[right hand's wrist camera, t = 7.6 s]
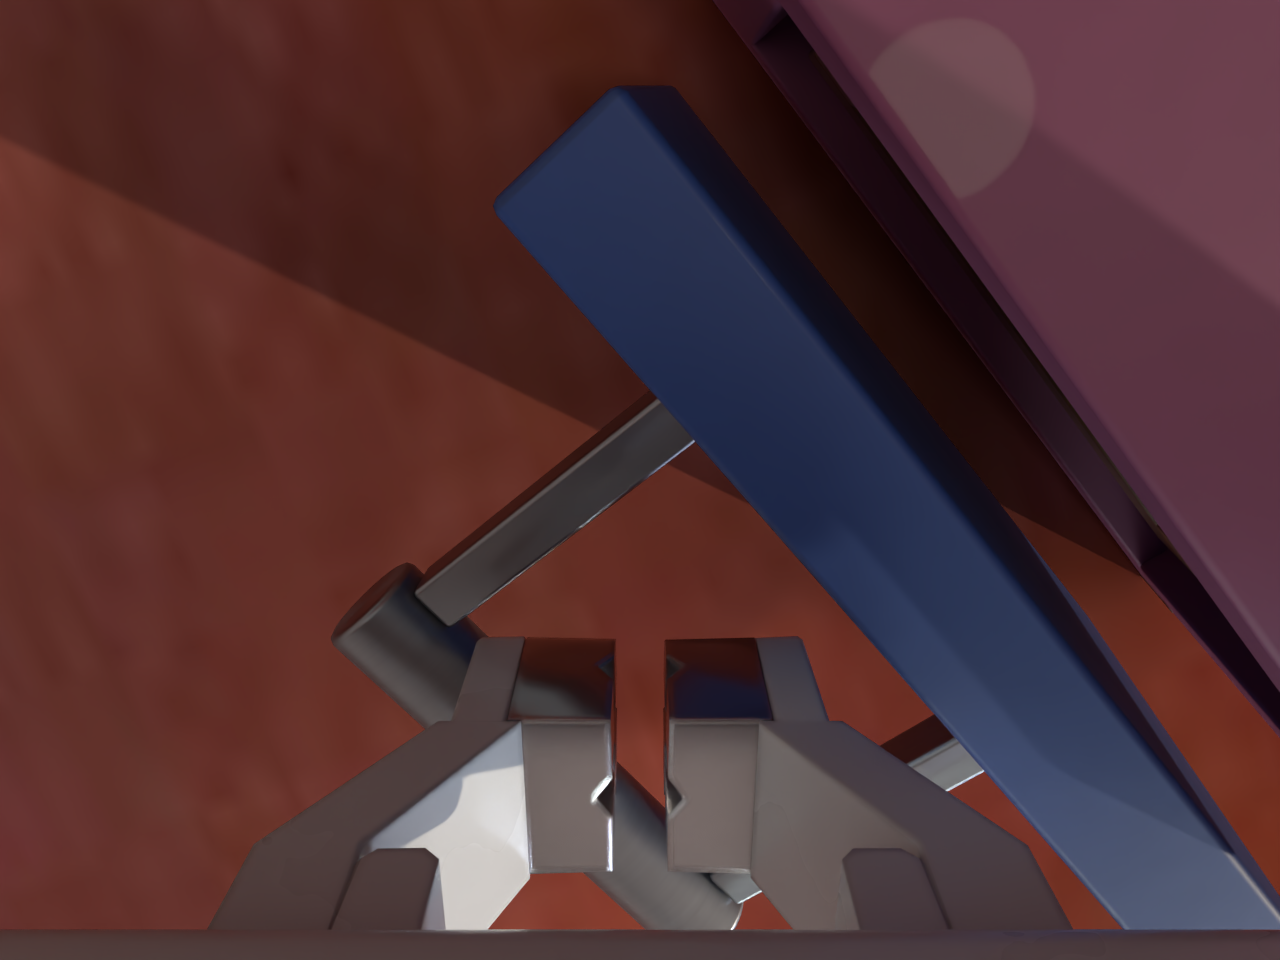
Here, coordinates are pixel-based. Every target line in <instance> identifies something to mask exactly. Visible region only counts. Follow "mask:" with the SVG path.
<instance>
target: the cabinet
mask: <svg viewBox="0 0 1280 960" xmlns="http://www.w3.org/2000/svg"><path fill="white" fill-rule="evenodd" d="M713 2H714V3H715V4H716V6H717V7H718V8H719V10H720V11H721V12H722V14H723V15H724V16H725V18H726V19H727V20H728V22H729V23H730V24H731V26H732V27H733V28H734V30H735V31H736V33H737V34H738V35H739V37H740V38H741V39H742V41H743V42H744V43H745V45H746V46H747V47H748V49H749V50H750V51H751V53H752V54H753V55H754V57H755V58H756V59H757V61H758V62H759V63H760V65H761V66H762V67H763V69H764V70H765V71H766V73H767V74H768V75H769V77H770V78H771V79H772V81H773V82H774V83H775V85H776V86H777V87H778V89H779V90H780V91H781V93H782V94H783V96H784V97H785V98H786V100H787V101H788V102H789V104H790V105H791V106H792V108H793V109H794V110H795V112H796V113H797V114H798V116H799V117H800V118H801V120H802V121H803V122H804V124H805V125H806V126H807V128H808V129H809V130H810V132H811V133H812V134H813V136H814V137H815V138H816V140H817V141H818V142H819V144H820V145H821V146H822V148H823V149H824V150H825V152H826V153H827V154H828V156H829V157H830V158H831V160H832V161H833V163H834V164H835V165H836V167H837V168H838V169H839V171H840V172H841V173H842V175H843V176H844V177H845V179H846V180H847V181H848V183H849V184H850V185H851V187H852V188H853V189H854V191H855V192H856V193H857V195H858V196H859V197H860V199H861V200H862V201H863V203H864V204H865V205H866V207H867V208H868V209H869V211H870V212H871V213H872V215H873V216H874V217H875V219H876V220H877V221H878V223H879V224H880V226H881V227H882V228H883V230H884V231H885V232H886V234H887V235H888V236H889V238H890V239H891V240H892V242H893V243H894V244H895V246H896V247H897V248H898V250H899V251H900V252H901V254H902V255H903V256H904V258H905V259H906V260H907V262H908V263H909V264H910V266H911V267H912V268H913V270H914V271H915V272H916V274H917V275H918V276H919V278H920V279H921V280H922V282H923V283H924V284H925V286H926V287H927V289H928V290H929V291H930V293H931V294H932V295H933V297H934V298H935V299H936V301H937V302H938V303H939V305H940V306H941V307H942V309H943V310H944V311H945V313H946V314H947V315H948V317H949V318H950V319H951V321H952V322H953V323H954V325H955V326H956V327H957V329H958V330H959V331H960V333H961V334H962V335H963V337H964V338H965V339H966V341H967V342H968V343H969V345H970V346H971V347H972V349H973V350H974V351H975V353H976V354H977V356H978V357H979V358H980V360H981V361H982V362H983V364H984V365H985V366H986V368H987V369H988V370H989V372H990V373H991V374H992V376H993V377H994V378H995V380H996V381H997V382H998V384H999V385H1000V386H1001V388H1002V389H1003V390H1004V392H1005V393H1006V394H1007V396H1008V397H1009V398H1010V400H1011V401H1012V402H1013V404H1014V405H1015V406H1016V408H1017V409H1018V410H1019V412H1020V413H1021V414H1022V416H1023V417H1024V419H1025V420H1026V421H1027V423H1028V424H1029V425H1030V427H1031V428H1032V429H1033V431H1034V432H1035V433H1036V435H1037V436H1038V437H1039V439H1040V440H1041V441H1042V443H1043V444H1044V445H1045V447H1046V448H1047V449H1048V451H1049V452H1050V453H1051V455H1052V456H1053V457H1054V459H1055V460H1056V461H1057V463H1058V464H1059V465H1060V467H1061V468H1062V469H1063V471H1064V472H1065V473H1066V475H1067V476H1068V477H1069V479H1070V480H1071V482H1072V483H1073V484H1074V486H1075V487H1076V488H1077V490H1078V491H1079V492H1080V494H1081V495H1082V496H1083V498H1084V499H1085V500H1086V502H1087V503H1088V504H1089V506H1090V507H1091V508H1092V510H1093V511H1094V512H1095V514H1096V515H1097V516H1098V518H1099V519H1100V520H1101V522H1102V523H1103V524H1104V526H1105V527H1106V528H1107V530H1108V531H1109V532H1110V534H1111V535H1112V536H1113V538H1114V539H1115V540H1116V542H1117V543H1118V545H1119V546H1120V547H1121V549H1122V550H1123V551H1124V553H1125V554H1126V555H1127V557H1128V558H1129V559H1130V561H1131V562H1132V563H1133V565H1134V566H1135V567H1136V569H1137V570H1138V571H1139V573H1140V575H1141V577H1142V578H1143V579H1144V580H1145V581H1146V583H1147V584H1148V585H1149V586H1150V587H1151V589H1152V590H1153V591H1154V592H1155V593H1156V594H1157V596H1158V597H1159V598H1160V599H1161V600H1162V601H1163V603H1164V604H1165V605H1166V606H1167V607H1168V609H1169V610H1170V611H1171V612H1172V613H1174V614H1175V615H1176V617H1177V618H1178V619H1179V620H1180V621H1181V622H1182V624H1183V625H1184V626H1185V627H1186V628H1187V629H1188V631H1189V632H1190V633H1191V634H1192V635H1193V636H1194V638H1195V639H1196V640H1197V641H1198V642H1199V643H1200V645H1201V646H1202V647H1203V648H1204V649H1205V651H1206V652H1207V653H1208V654H1209V655H1210V656H1211V658H1212V659H1213V660H1214V661H1215V662H1216V663H1217V665H1218V666H1219V667H1220V668H1221V669H1222V670H1223V672H1224V673H1225V674H1226V675H1227V676H1228V678H1229V679H1230V680H1231V681H1232V682H1233V683H1234V685H1235V686H1236V687H1237V688H1238V689H1239V690H1240V692H1241V693H1242V694H1243V695H1244V696H1245V697H1246V699H1247V700H1248V701H1249V702H1250V703H1251V704H1252V706H1253V707H1254V708H1255V709H1256V710H1257V712H1258V713H1259V714H1260V715H1261V716H1262V717H1263V719H1264V720H1265V721H1266V722H1267V723H1268V724H1269V726H1270V727H1271V728H1272V729H1273V730H1274V731H1275V733H1276V734H1277V735H1278V736H1279V737H1280V0H713ZM812 49H814V50H815V52H816V53H817V55H818V56H819V57H820V59H821V60H822V61H823V63H824V64H825V66H826V67H827V68H828V70H829V71H830V72H831V74H832V75H833V77H834V78H835V79H836V81H837V82H838V84H839V85H840V86H841V88H842V89H843V90H844V92H845V93H846V95H847V96H848V97H849V99H850V100H851V101H852V103H853V104H854V106H855V107H856V108H857V110H858V111H859V113H860V114H861V115H862V117H863V118H864V119H865V121H866V122H867V124H868V125H869V126H870V128H871V129H872V130H873V132H874V133H875V135H876V136H877V137H878V139H879V140H880V141H881V143H882V144H883V146H884V147H885V148H886V150H887V151H888V153H889V154H890V155H891V157H892V158H893V159H894V161H895V162H896V164H897V165H898V166H899V168H900V169H901V170H902V172H903V173H904V175H905V176H906V177H907V179H908V180H909V181H910V183H911V184H912V186H913V187H914V188H915V190H916V191H917V193H918V194H919V195H920V197H921V198H922V199H923V201H924V202H925V204H926V205H927V206H928V208H929V209H930V210H931V212H932V213H933V215H934V216H935V217H936V219H937V220H938V222H939V223H940V224H941V226H942V227H943V228H944V230H945V231H946V233H947V234H948V235H949V237H950V238H951V239H952V241H953V242H954V244H955V245H956V246H957V248H958V249H959V250H960V252H961V253H962V255H963V256H964V257H965V259H966V260H967V262H968V263H969V264H970V266H971V267H972V268H973V270H974V271H975V273H976V274H977V275H978V277H979V278H980V279H981V281H982V282H983V284H984V285H985V286H986V288H987V289H988V290H989V292H990V293H991V295H992V296H993V297H994V299H995V300H996V302H997V303H998V304H999V306H1000V307H1001V308H1002V310H1003V311H1004V313H1005V314H1006V315H1007V317H1008V318H1009V319H1010V321H1011V322H1012V324H1013V325H1014V326H1015V328H1016V329H1017V331H1018V332H1019V333H1020V335H1021V336H1022V337H1023V339H1024V340H1025V342H1026V343H1027V344H1028V346H1029V347H1030V348H1031V350H1032V351H1033V353H1034V354H1035V355H1036V357H1037V358H1038V359H1039V361H1040V362H1041V364H1042V365H1043V366H1044V368H1045V369H1046V371H1047V372H1048V373H1049V375H1050V376H1051V377H1052V379H1053V380H1054V382H1055V383H1056V384H1057V386H1058V387H1059V388H1060V390H1061V391H1062V393H1063V394H1064V395H1065V397H1066V398H1067V399H1068V401H1069V402H1070V404H1071V405H1072V406H1073V408H1074V409H1075V411H1076V412H1077V413H1078V415H1079V416H1080V417H1081V419H1082V420H1083V422H1084V423H1085V424H1086V426H1087V427H1088V428H1089V430H1090V431H1091V433H1092V434H1093V435H1094V437H1095V438H1096V439H1097V441H1098V442H1099V444H1100V445H1101V446H1102V448H1103V449H1104V451H1105V452H1106V453H1107V455H1108V456H1109V457H1110V459H1111V460H1112V462H1113V463H1114V464H1115V466H1116V467H1117V468H1118V470H1119V471H1120V473H1121V474H1122V475H1123V477H1124V478H1125V480H1126V481H1127V482H1128V484H1129V485H1130V486H1131V488H1132V489H1133V491H1134V492H1135V493H1136V495H1137V496H1138V497H1139V499H1140V500H1141V502H1142V503H1143V504H1144V506H1145V507H1146V508H1147V510H1148V511H1149V513H1150V514H1151V515H1152V517H1153V518H1154V520H1155V521H1156V522H1157V524H1158V525H1159V526H1160V528H1161V529H1162V531H1163V532H1164V533H1165V535H1166V536H1167V537H1168V539H1169V540H1170V542H1171V543H1172V544H1173V546H1174V547H1175V548H1176V550H1177V551H1178V553H1179V554H1180V555H1181V557H1182V558H1183V560H1184V561H1185V562H1186V564H1187V565H1188V566H1189V568H1190V569H1191V571H1192V572H1193V573H1194V575H1195V576H1196V577H1197V578H1196V577H1195V576H1194V575H1193V573H1192V572H1191V571H1190V570H1189V569H1188V568H1187V567H1186V566H1185V565H1184V564H1183V563H1182V561H1180V560H1179V559H1178V558H1177V557H1176V556H1175V555H1174V554H1173V553H1172V552H1171V551H1170V549H1169V548H1168V547H1167V546H1166V545H1165V544H1164V543H1163V542H1162V541H1161V540H1160V539H1159V538H1158V537H1157V535H1156V534H1155V533H1154V531H1153V530H1152V529H1151V527H1150V526H1149V525H1148V523H1147V522H1146V520H1145V519H1144V518H1143V516H1142V515H1141V514H1140V512H1139V511H1138V509H1137V508H1136V507H1135V505H1134V504H1133V503H1132V501H1131V500H1130V498H1129V497H1128V496H1127V494H1126V493H1125V492H1124V490H1123V489H1122V487H1121V486H1120V485H1119V483H1118V482H1117V481H1116V479H1115V478H1114V476H1113V475H1112V474H1111V472H1110V471H1109V470H1108V468H1107V467H1106V465H1105V464H1104V463H1103V461H1102V460H1101V459H1100V457H1099V456H1098V455H1097V453H1096V452H1095V450H1094V449H1093V448H1092V446H1091V445H1090V444H1089V442H1088V441H1087V439H1086V438H1085V437H1084V435H1083V434H1082V433H1081V431H1080V430H1079V428H1078V427H1077V426H1076V424H1075V423H1074V422H1073V420H1072V419H1071V417H1070V416H1069V415H1068V413H1067V412H1066V411H1065V409H1064V408H1063V406H1062V405H1061V404H1060V402H1059V401H1058V400H1057V398H1056V397H1055V395H1054V394H1053V393H1052V391H1051V390H1050V389H1049V387H1048V386H1047V385H1046V383H1045V382H1044V380H1043V379H1042V378H1041V376H1040V375H1039V374H1038V372H1037V371H1036V369H1035V368H1034V367H1033V365H1032V364H1031V363H1030V361H1029V360H1028V358H1027V357H1026V356H1025V354H1024V353H1023V352H1022V350H1021V349H1020V347H1019V346H1018V345H1017V343H1016V342H1015V341H1014V339H1013V338H1012V336H1011V335H1010V334H1009V332H1008V331H1007V330H1006V328H1005V327H1004V325H1003V324H1002V323H1001V321H1000V320H999V319H998V317H997V316H996V315H995V313H994V312H993V310H992V309H991V308H990V306H989V305H988V304H987V302H986V301H985V299H984V298H983V297H982V295H981V294H980V293H979V291H978V290H977V288H976V287H975V286H974V284H973V283H972V282H971V280H970V279H969V277H968V276H967V275H966V273H965V272H964V271H963V269H962V268H961V266H960V265H959V264H958V262H957V261H956V260H955V258H954V257H953V255H952V254H951V253H950V251H949V250H948V249H947V247H946V246H945V245H944V243H943V242H942V240H941V239H940V238H939V236H938V235H937V234H936V232H935V231H934V229H933V228H932V227H931V225H930V224H929V223H928V221H927V220H926V218H925V217H924V216H923V214H922V213H921V212H920V210H919V209H918V207H917V206H916V205H915V203H914V202H913V201H912V199H911V198H910V196H909V195H908V194H907V192H906V191H905V190H904V188H903V187H902V185H901V184H900V183H899V181H898V180H897V179H896V177H895V176H894V175H893V173H892V172H891V170H890V169H889V168H888V166H887V165H886V164H885V162H884V161H883V159H882V158H881V157H880V155H879V154H878V153H877V151H876V150H875V148H874V147H873V146H872V144H871V143H870V142H869V140H868V139H867V137H866V136H865V135H864V133H863V132H862V131H861V129H860V128H859V126H858V125H857V124H856V122H855V121H854V120H853V118H852V117H851V115H850V114H849V113H848V111H847V110H846V109H845V107H844V106H843V104H842V103H841V102H840V100H839V99H838V98H837V96H836V95H835V94H834V92H833V91H832V89H831V88H830V87H829V85H828V84H827V83H826V81H825V80H824V78H823V77H822V76H821V74H820V73H819V72H818V70H817V69H816V67H815V66H814V65H813V63H812V62H811V61H810V59H809V56H808V55H809V53H810V51H811V50H812Z"/></svg>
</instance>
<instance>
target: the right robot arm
mask: <svg viewBox="0 0 1280 960" xmlns="http://www.w3.org/2000/svg"><path fill="white" fill-rule="evenodd" d="M616 675H617V673H616V639H591V638H539V637H528V638H527V639H526V638H525V637H524V636H523V637H482V638H481V639H479V640H478V641H477V642H476V646H475V649H474V652H473V655H472V658H471V661H470V664H469V667H468V670H467V673H466V676H465V679H464V683H463V686H462V689H461V692H460V695H459V698H458V701H457V704H456V707H455V710H454V713H453V716H452V720H451V721H437V722H436V723H434V724H433V725H431V726H430V727H428V728H427V729H426V730H424V731H423V732H421V733H420V734H418V735H417V736H415V737H414V738H412V739H411V740H409V741H408V742H406V743H405V744H403V745H402V746H400V747H399V748H397V749H396V750H394V751H393V752H391V753H390V754H388V755H387V756H385V757H384V758H382V759H381V760H379V761H378V762H376V763H375V764H373V765H372V766H370V767H369V768H367V769H366V770H364V771H363V772H361V773H360V774H358V775H357V776H355V777H354V778H352V779H351V780H349V781H348V782H346V783H345V784H343V785H342V786H340V787H339V788H337V789H336V790H334V791H333V792H331V793H330V794H328V795H327V796H325V797H324V798H322V799H321V800H319V801H318V802H316V803H315V804H313V805H312V806H310V807H309V808H307V809H306V810H304V811H303V812H301V813H300V814H298V815H297V816H295V817H294V818H292V819H291V820H289V821H288V822H286V823H285V824H283V825H282V826H280V827H279V828H277V829H276V830H274V831H273V832H271V833H270V834H268V835H267V836H265V837H264V838H262V839H261V840H259V841H258V842H256V843H255V844H254V845H253V847H252V849H251V850H250V852H249V854H248V856H247V858H246V860H245V861H244V863H243V865H242V867H241V869H240V870H239V872H238V874H237V876H236V878H235V880H234V881H233V883H232V885H231V887H230V889H229V891H228V892H227V894H226V896H225V898H224V900H223V901H222V903H221V905H220V907H219V909H218V911H217V912H216V914H215V916H214V918H213V920H212V921H211V923H210V925H209V927H208V929H207V930H0V960H1280V930H1259V929H1126V930H1073V928H1072V926H1071V924H1070V923H1069V921H1068V919H1067V917H1066V915H1065V913H1064V912H1063V910H1062V908H1061V906H1060V904H1059V902H1058V901H1057V899H1056V897H1055V895H1054V893H1053V891H1052V889H1051V888H1050V886H1049V884H1048V882H1047V880H1046V878H1045V877H1044V875H1043V873H1042V871H1041V869H1040V867H1039V866H1038V864H1037V862H1036V860H1035V858H1034V856H1033V854H1032V853H1031V851H1030V849H1029V847H1028V845H1026V844H1025V843H1023V842H1022V841H1020V840H1019V839H1017V838H1016V837H1014V836H1013V835H1011V834H1010V833H1008V832H1007V831H1005V830H1004V829H1002V828H1001V827H999V826H998V825H996V824H995V823H993V822H992V821H990V820H989V819H987V818H986V817H984V816H983V815H981V814H980V813H978V812H977V811H975V810H974V809H972V808H971V807H969V806H968V805H966V804H965V803H963V802H962V801H961V800H959V799H958V798H956V797H955V796H953V795H952V794H950V793H949V792H947V791H946V790H944V789H943V788H941V787H940V786H938V785H937V784H935V783H934V782H932V781H931V780H929V779H928V778H926V777H925V776H923V775H922V774H920V773H919V772H917V771H916V770H914V769H913V768H911V767H910V766H908V765H907V764H905V763H904V762H902V761H901V760H899V759H898V758H896V757H895V756H893V755H892V754H890V753H889V752H888V751H886V750H885V749H883V748H882V747H880V746H879V745H877V744H876V743H874V742H873V741H871V740H870V739H868V738H867V737H865V736H864V735H862V734H861V733H859V732H858V731H856V730H855V729H853V728H852V727H850V726H849V725H847V724H846V723H844V722H843V721H829V719H828V716H827V713H826V710H825V707H824V704H823V701H822V698H821V695H820V692H819V689H818V685H817V682H816V679H815V676H814V673H813V670H812V667H811V664H810V661H809V658H808V655H807V652H806V649H805V646H804V643H803V640H802V639H801V638H799V637H798V636H790V637H766V638H718V639H678V640H665V641H664V701H665V707H664V708H663V769H664V795H665V828H666V848H667V869H668V872H704V873H740V874H751V879H752V880H753V881H754V882H755V884H756V885H757V886H758V887H759V888H760V890H761V891H762V892H763V893H764V894H765V896H766V897H767V898H768V899H769V900H770V902H771V903H772V904H773V905H774V907H775V908H776V909H777V910H778V911H779V913H780V914H781V915H782V916H783V917H784V919H785V920H786V921H787V922H788V924H789V925H790V926H791V927H792V928H793V930H487V929H488V928H489V927H490V926H491V924H492V923H493V922H494V921H495V920H496V918H497V917H498V916H499V915H500V914H501V912H502V911H503V910H504V909H505V908H506V906H507V905H508V904H509V903H510V902H511V900H512V899H513V898H514V897H515V896H516V894H517V893H518V892H519V891H520V889H521V888H522V887H523V886H524V885H525V883H526V882H527V881H528V880H529V879H530V876H529V874H540V873H575V872H610V871H613V855H614V832H615V795H616V771H617V708H616Z"/></svg>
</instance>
